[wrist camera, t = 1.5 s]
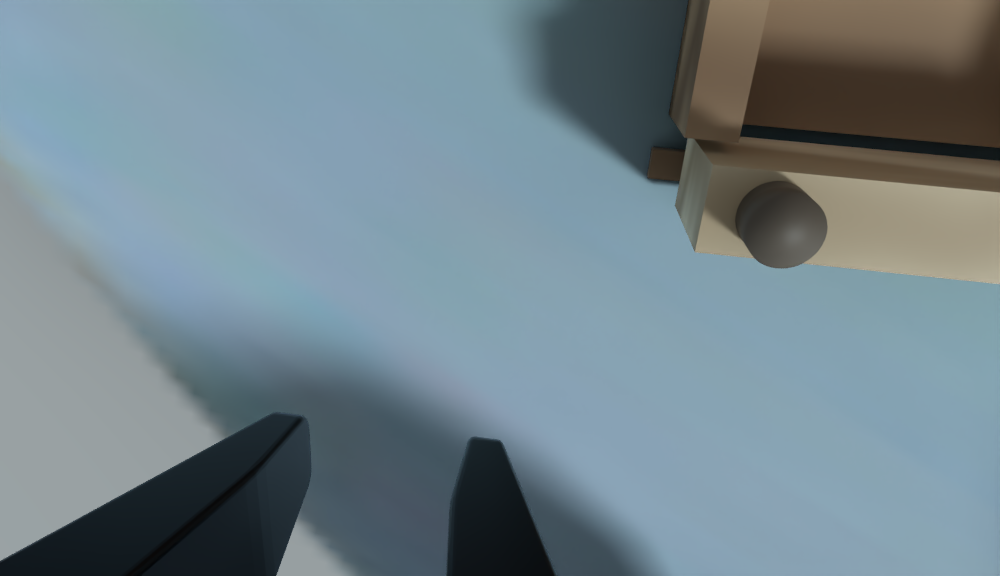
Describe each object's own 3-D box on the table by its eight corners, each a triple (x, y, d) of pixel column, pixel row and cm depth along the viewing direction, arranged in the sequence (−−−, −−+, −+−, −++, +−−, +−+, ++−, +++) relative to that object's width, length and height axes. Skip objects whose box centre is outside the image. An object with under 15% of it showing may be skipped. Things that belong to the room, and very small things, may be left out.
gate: (1036, 241, 18) (1171, 319, 14) (675, 205, 19) (702, 269, 14) (1068, 167, 17) (1222, 226, 13) (688, 131, 18) (721, 177, 14)
